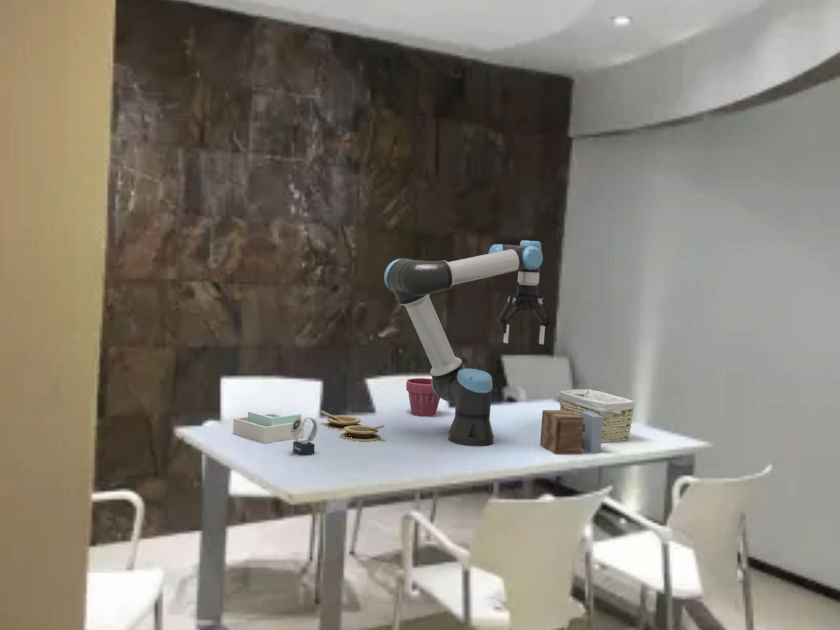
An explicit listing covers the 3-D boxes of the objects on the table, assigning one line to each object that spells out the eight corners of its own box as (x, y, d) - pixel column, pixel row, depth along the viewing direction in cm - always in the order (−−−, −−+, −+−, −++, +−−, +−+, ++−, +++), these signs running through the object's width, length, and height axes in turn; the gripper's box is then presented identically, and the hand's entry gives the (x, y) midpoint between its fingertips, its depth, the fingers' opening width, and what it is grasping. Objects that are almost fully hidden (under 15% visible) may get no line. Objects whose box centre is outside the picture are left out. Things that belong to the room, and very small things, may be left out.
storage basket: (634, 441, 323) (637, 400, 322) (600, 444, 314) (603, 402, 313) (587, 427, 343) (590, 388, 342) (554, 429, 334) (557, 390, 333)
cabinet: (583, 453, 298) (586, 417, 297) (555, 454, 295) (558, 417, 294) (567, 445, 309) (569, 410, 308) (540, 445, 306) (542, 410, 305)
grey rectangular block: (600, 452, 301) (603, 416, 300) (590, 452, 300) (593, 416, 299) (586, 446, 310) (589, 411, 309) (577, 446, 309) (580, 411, 308)
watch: (286, 452, 275) (288, 416, 274) (310, 450, 280) (312, 414, 279) (295, 456, 271) (297, 419, 270) (319, 454, 275) (321, 418, 274)
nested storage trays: (264, 443, 284) (265, 427, 284) (232, 433, 295) (233, 418, 295) (303, 437, 296) (304, 422, 296) (272, 428, 307) (272, 413, 306)
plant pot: (412, 418, 338) (414, 384, 337) (399, 410, 351) (401, 377, 350) (447, 417, 343) (450, 384, 342) (433, 410, 356) (435, 377, 355)
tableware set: (395, 442, 300) (396, 425, 300) (339, 445, 292) (340, 426, 291) (362, 423, 327) (363, 407, 326) (309, 425, 318) (310, 408, 318)
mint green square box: (300, 437, 296) (301, 414, 296) (270, 441, 287) (271, 418, 287) (276, 430, 304) (277, 408, 304) (247, 434, 295) (248, 411, 295)
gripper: (556, 285, 333) (551, 343, 335) (491, 281, 327) (487, 340, 329) (564, 286, 326) (560, 345, 328) (498, 283, 320) (493, 343, 321)
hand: (523, 343), depth 328 cm, fingers open, 13 cm apart
